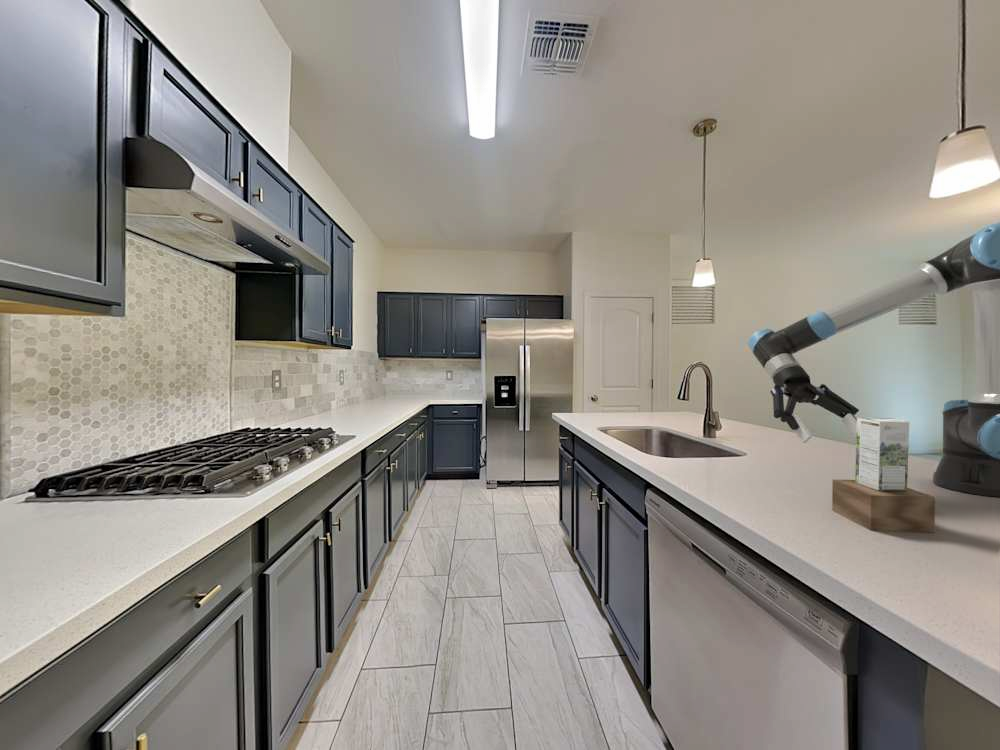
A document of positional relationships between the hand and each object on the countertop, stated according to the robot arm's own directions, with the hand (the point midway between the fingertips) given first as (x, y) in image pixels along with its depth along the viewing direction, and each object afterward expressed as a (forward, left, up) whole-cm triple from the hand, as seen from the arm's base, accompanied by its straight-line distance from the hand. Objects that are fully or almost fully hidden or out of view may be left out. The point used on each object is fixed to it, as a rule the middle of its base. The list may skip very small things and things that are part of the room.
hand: (835, 439), depth 93 cm
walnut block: (-2, +10, -15) cm, 18 cm away
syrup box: (-2, +10, -8) cm, 13 cm away
